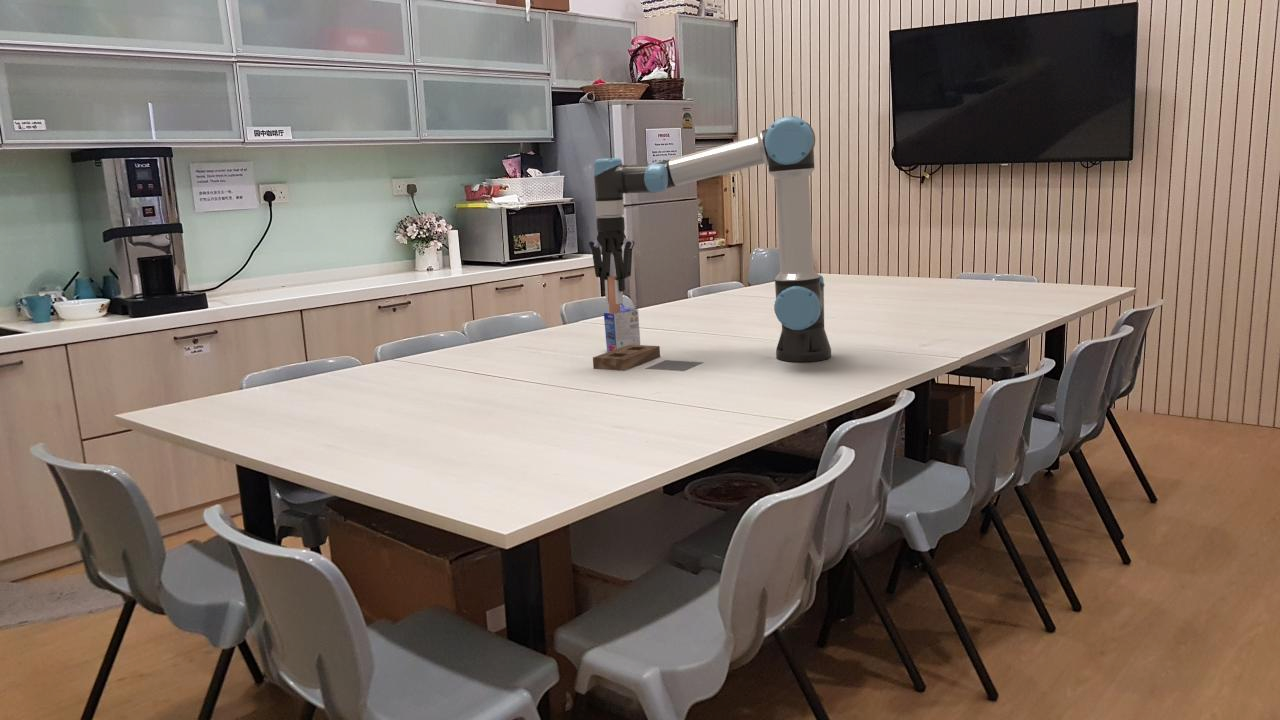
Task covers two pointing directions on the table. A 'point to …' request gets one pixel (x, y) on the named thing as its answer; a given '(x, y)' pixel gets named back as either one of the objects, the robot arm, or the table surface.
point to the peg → (612, 296)
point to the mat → (674, 365)
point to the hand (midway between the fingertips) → (614, 302)
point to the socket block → (626, 357)
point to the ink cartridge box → (622, 328)
